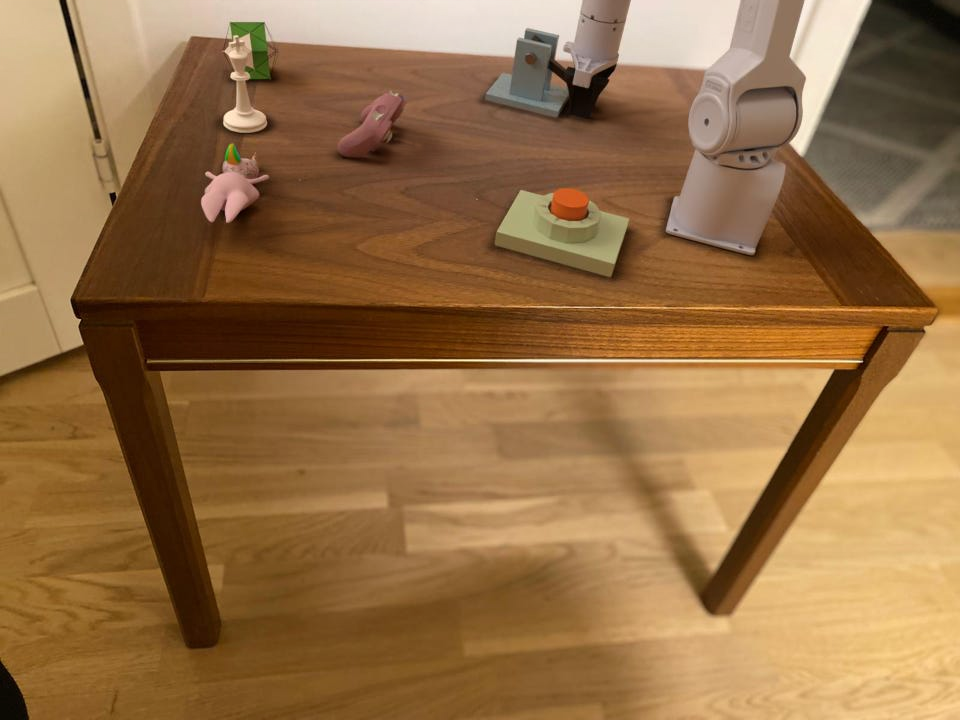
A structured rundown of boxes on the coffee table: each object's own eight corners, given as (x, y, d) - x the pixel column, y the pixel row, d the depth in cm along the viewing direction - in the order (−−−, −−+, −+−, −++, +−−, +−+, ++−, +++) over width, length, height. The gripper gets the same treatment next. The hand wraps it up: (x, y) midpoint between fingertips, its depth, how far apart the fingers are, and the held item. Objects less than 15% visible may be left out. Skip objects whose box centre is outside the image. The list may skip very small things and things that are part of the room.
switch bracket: (570, 97, 103) (582, 36, 97) (556, 120, 97) (569, 56, 92) (501, 80, 104) (509, 19, 99) (484, 102, 99) (492, 38, 93)
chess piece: (215, 119, 87) (203, 31, 80) (253, 110, 90) (245, 25, 83) (236, 136, 85) (226, 48, 78) (275, 127, 87) (268, 40, 80)
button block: (625, 232, 79) (634, 203, 77) (610, 278, 73) (619, 248, 70) (518, 203, 81) (523, 174, 79) (494, 245, 74) (498, 215, 72)
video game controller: (367, 176, 84) (395, 130, 80) (332, 152, 83) (359, 104, 79) (391, 138, 92) (419, 94, 87) (360, 116, 90) (386, 70, 86)
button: (588, 208, 76) (592, 193, 74) (581, 226, 73) (585, 210, 72) (554, 199, 76) (557, 184, 75) (546, 216, 74) (549, 201, 72)
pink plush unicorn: (215, 178, 80) (185, 237, 68) (210, 123, 77) (177, 174, 64) (275, 181, 81) (256, 240, 69) (272, 127, 78) (251, 178, 65)
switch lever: (588, 102, 100) (602, 85, 98) (583, 110, 98) (597, 93, 96) (524, 50, 98) (537, 31, 96) (518, 57, 96) (531, 38, 94)
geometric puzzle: (220, 43, 98) (216, 5, 90) (274, 43, 100) (274, 5, 92) (227, 94, 97) (224, 60, 89) (281, 92, 99) (282, 59, 91)
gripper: (583, -9, 97) (563, 91, 106) (558, 25, 86) (538, 133, 96) (636, 3, 96) (611, 103, 105) (617, 39, 85) (591, 147, 95)
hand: (580, 119), depth 100 cm, fingers open, 3 cm apart
